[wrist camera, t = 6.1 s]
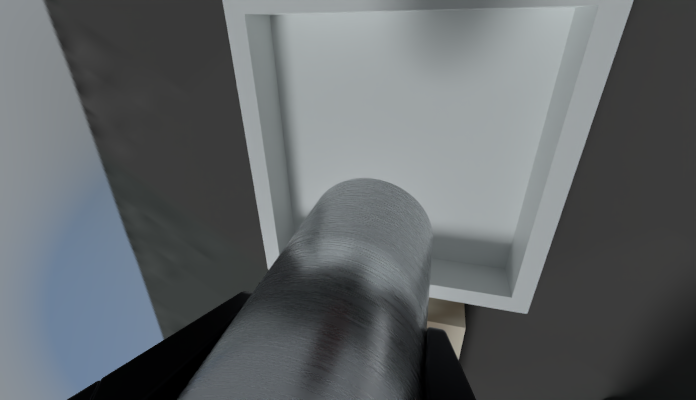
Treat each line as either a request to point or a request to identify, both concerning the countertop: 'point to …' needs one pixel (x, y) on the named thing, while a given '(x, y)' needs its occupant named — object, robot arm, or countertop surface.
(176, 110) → the countertop surface
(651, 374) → the countertop surface
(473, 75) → the tray
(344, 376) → the metal pin
